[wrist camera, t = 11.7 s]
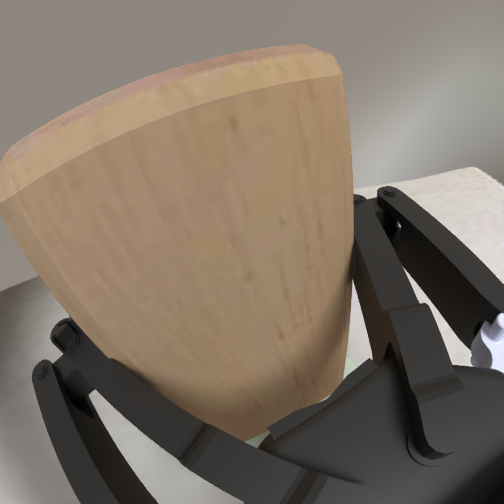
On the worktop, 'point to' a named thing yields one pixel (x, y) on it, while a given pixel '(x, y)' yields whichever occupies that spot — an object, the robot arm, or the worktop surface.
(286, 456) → the robot arm
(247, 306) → the wooden block
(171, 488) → the worktop surface
